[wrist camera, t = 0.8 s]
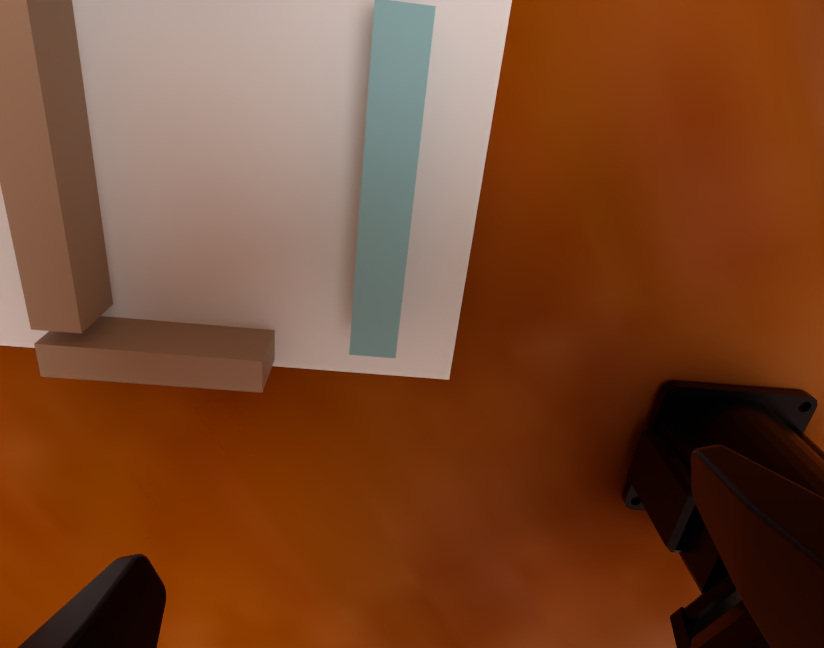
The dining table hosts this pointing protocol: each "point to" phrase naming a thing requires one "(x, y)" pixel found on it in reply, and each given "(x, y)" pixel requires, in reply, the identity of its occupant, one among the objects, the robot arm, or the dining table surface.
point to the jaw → (389, 171)
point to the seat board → (223, 185)
